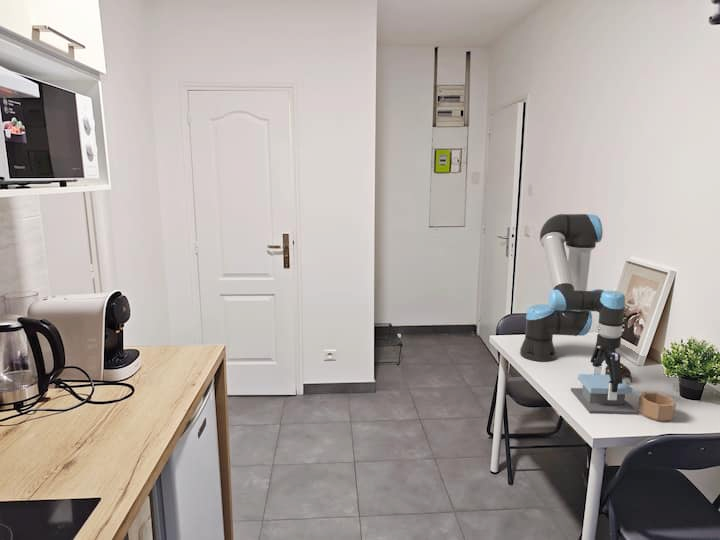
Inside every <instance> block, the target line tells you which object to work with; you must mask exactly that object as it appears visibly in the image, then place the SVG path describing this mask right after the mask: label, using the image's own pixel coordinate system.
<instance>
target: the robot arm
mask: <svg viewBox="0 0 720 540" xmlns="http://www.w3.org/2000/svg"><path fill="white" fill-rule="evenodd" d="M603 234H604V233H603V224H602V221H601V219H600V217H599V216H598V215H596V214H589V213H588V214H587V213H579V214H578V213H575V214H574V213H571V214H569V213H568V214H566V213H560V214H558V213H557V214H556V215H553V216H551V217H550V218H549V219H547V220H546V221H545V223H544V224H543V225H542V227H541V229H540V232H539V241H540V245H541V246H542V248H544V253H545V256H546V257H545V258H546V262H547V267H548V272H549V276H550V281H551V286H552V290H550V291H549V293H548V297H547V298H548V299H547V300H548V304H547V303H539V304H534V305H531V306H529V307H528V308H527V310H526V316H525V319H526V321H525V333H524V334H525V335H524V339H523V342H522V345H521V347H520V349H519V354H520V356H521V357H522V358H524V359H526V360H530V361H535V362H541V363H542V362H544V363H545V362H551V361H554V360H555V359H556V350H555V346H554V342H553V336H555V335H556V336H575V337H578V336H586V335H588V333H589V332H590V330H591V327H592V323H593V314H592V312H596V313H599V314H598V325H597V327H596V328H597V333H598V334H597V335H596V336H597V337H596V342H595V347H594V349H593V353H592V355H591V359H590V363H592V364H591V365H592V366H593V367H592V374H596V375H602V367H603V362H605V365H606V366H608V372H609V375H610V379H611V381H609V391H608V400H617V392H618V384H622V380H623V379H622V374H621V368H622V367H621V365H620V363H621V354H619V353H616V349H619V348H620V347H621V342H622V337H621V336H622V335H623V322H624V315H625V314H624V313H625V308H626V307H625V306H626V295H625V294H624V292H623V293H622V292H619V291H616V290H615V291H614V290H604V289H602V288H601V289H600V288H596V289H595V288H594V289H592V290H588V289H587V288H588V280H589V272H590V263H591V262H590V261H591V255H592V251H593V250H594V249H595V248H596V246H597V243H600V242H602V238H603ZM565 247H566V248H568V256H567V252H566V248H565Z"/></svg>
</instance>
